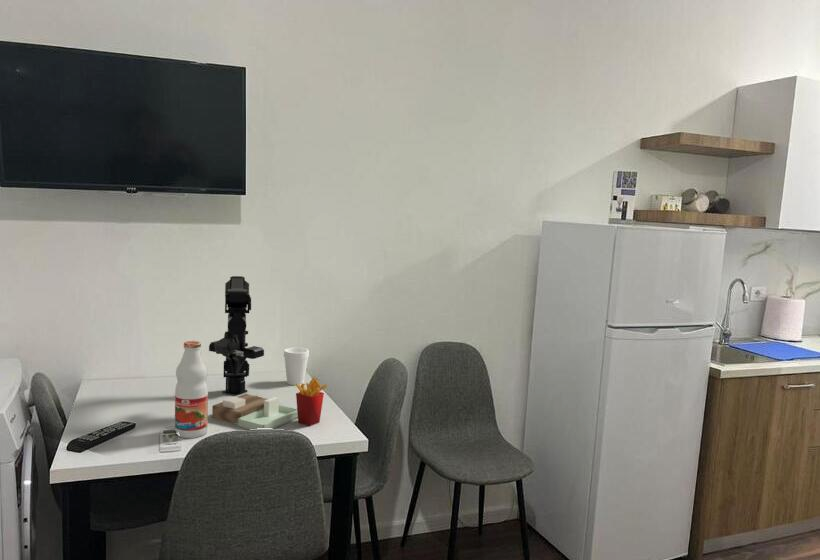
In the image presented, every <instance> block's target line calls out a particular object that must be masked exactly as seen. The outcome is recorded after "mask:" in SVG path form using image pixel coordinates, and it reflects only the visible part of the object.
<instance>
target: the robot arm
mask: <svg viewBox="0 0 820 560" xmlns="http://www.w3.org/2000/svg"><path fill="white" fill-rule="evenodd" d="M245 277H246V276H245ZM245 277H244V276H242V275H241V276H238V275H235V276H234V275H232V276H230V277H229V280H227V282H225V283H224V298H225V299H224V301H225V302H224V303H225V304H224V314H227V330H226V331H225V332H224V336H223V338H221V339H219V340H214V341H212V342H210V344H209V346H208V352H212V353H215V354H217V355H222V356H223V357H225V360H223V378H225V389H224V390H222V393H225V394H228V395H233V396H238V395H242V394H243V393H248V390H247V389H246V378H247V377H249V376H250V364H249V362H248V360H247V359H250V360H253V359H258V358H261V357H264V356H265V350H264V348H263V347H260V346H256V345H255V346H254V345H252V346H250V347H249V343H248V342H246V335H248V334H249V330H247V315H246V314H250V311H252V297H251V295H250V283H249V282H248V281H246V280H245V279H246V278H245Z"/></svg>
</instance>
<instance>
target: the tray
mask: <svg viewBox="0 0 820 560" xmlns="http://www.w3.org/2000/svg"><path fill="white" fill-rule="evenodd" d="M295 420H298V413H297V407H293V406H290V405H289V406H288V405H284V404H280V403H279V408H278V413H276V414H274V415H271V416H269V417H268V416H264V409H261V410H258V411H256V412H253V413H251V414H248V415H246V416H243V417H241V418H238V424H237V427H238V426H239V427H240V428H243V429H246V430H250V429H257V428H275V429H277V428H279V427H281V425H282V426H283V424H284V425H286V424H288V422H289V423H290V422H292V421H295ZM239 427H238V428H239ZM276 427H277V428H276Z"/></svg>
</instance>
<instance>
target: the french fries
mask: <svg viewBox="0 0 820 560" xmlns="http://www.w3.org/2000/svg"><path fill="white" fill-rule="evenodd" d="M305 385H306V387H305ZM295 386H296V388H297V389H298V390H299V392H296V393H295V399H296V408H297V413H298V419H297V421H298V424H301V425H304V426H308V427H311V426H314V425H316V424H319V423H320V421H321V416H322V415H321V413H322V409H323V408H322V407H323V401H324V397H325V395H324V392H321V391H323V389H324V390H325V388H327V387H328V385H327V383H325V384H323V385H321V384H320V382H319V378H317V377H315V378H314V377H312V378H311V380H310V381H309V382H306V383H302V384H301V385H299V384H298V383H297V384H296V385H295Z"/></svg>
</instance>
